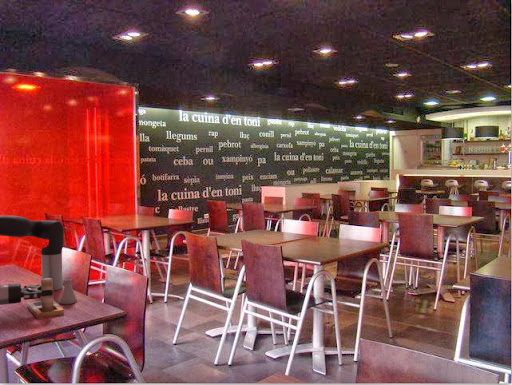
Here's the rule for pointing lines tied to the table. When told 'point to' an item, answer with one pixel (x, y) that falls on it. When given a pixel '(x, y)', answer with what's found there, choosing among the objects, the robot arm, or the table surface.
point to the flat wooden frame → (37, 311)
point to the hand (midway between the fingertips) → (52, 290)
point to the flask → (68, 293)
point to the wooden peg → (46, 300)
